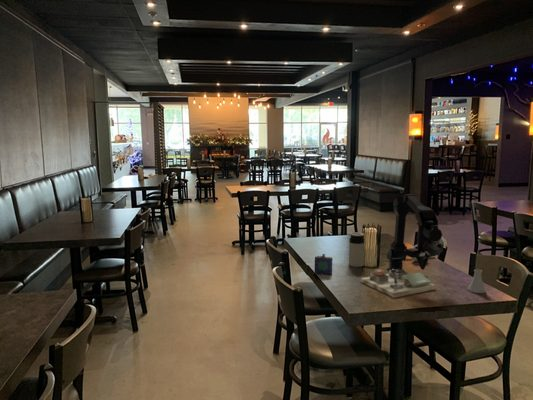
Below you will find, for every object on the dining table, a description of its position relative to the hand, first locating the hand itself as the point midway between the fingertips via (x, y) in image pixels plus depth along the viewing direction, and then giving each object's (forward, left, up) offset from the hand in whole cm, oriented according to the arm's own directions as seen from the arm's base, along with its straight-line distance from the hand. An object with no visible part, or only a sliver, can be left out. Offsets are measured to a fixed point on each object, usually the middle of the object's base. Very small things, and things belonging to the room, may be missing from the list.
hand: (422, 269), depth 194 cm
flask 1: (-40, -28, -10) cm, 50 cm away
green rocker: (-4, 0, -6) cm, 7 cm away
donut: (-36, +34, -10) cm, 50 cm away
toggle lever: (-4, -12, -7) cm, 14 cm away
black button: (-16, 0, -7) cm, 17 cm away
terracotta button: (-16, -12, -6) cm, 21 cm away
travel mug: (-45, -3, -10) cm, 46 cm away
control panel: (-10, -6, -10) cm, 15 cm away
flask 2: (+12, +22, -10) cm, 27 cm away
